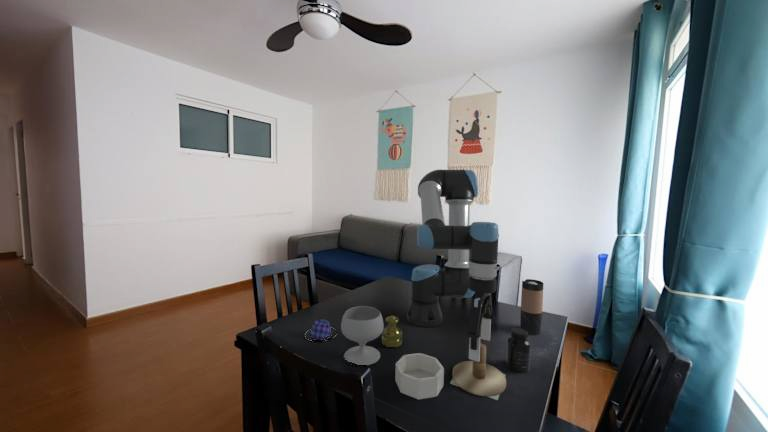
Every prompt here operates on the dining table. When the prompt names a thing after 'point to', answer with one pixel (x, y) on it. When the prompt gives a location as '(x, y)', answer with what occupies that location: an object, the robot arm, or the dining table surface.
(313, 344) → the dining table surface
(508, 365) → the supplement bottle
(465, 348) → the dining table surface
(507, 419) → the dining table surface
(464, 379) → the lid
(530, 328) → the travel mug
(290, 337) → the dining table surface
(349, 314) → the chalice
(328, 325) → the purple plaid hat
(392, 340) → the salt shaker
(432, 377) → the bowl
